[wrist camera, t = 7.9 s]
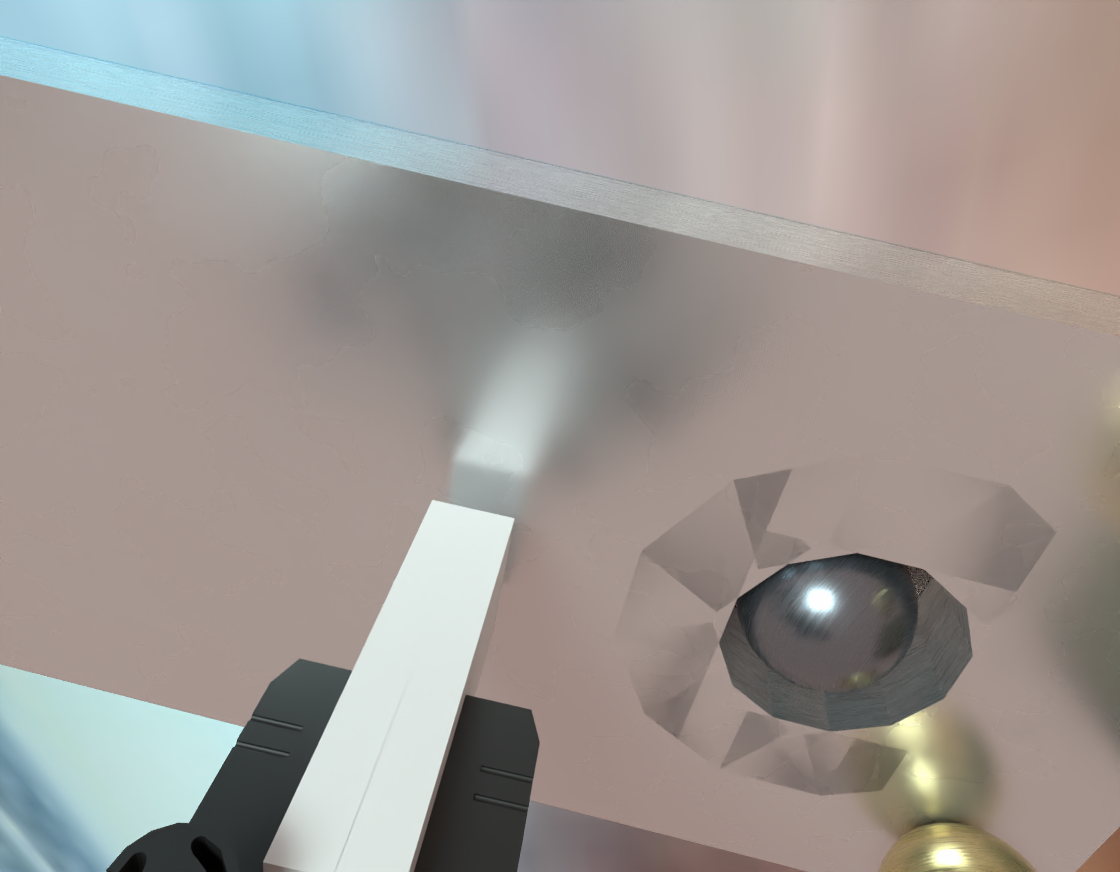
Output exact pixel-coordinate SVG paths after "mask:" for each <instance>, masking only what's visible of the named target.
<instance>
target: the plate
mask: <svg viewBox="0 0 1120 872" xmlns="http://www.w3.org/2000/svg"><path fill="white" fill-rule="evenodd" d="M432 500H435V501H440V502H444V503H449V504H453V505H458V506H462V507H466V508H471V509H475V510H480V511H484V512H489V513H493V514H498V515H502V516H507V517H511V518H515V519H514V525H513V530H512V535H511V541H510V546H509V551H508V557H507V562H506V568H505V573H504V578H503V584H502V589H501V594H500V600H499V605H498V611H497V616H496V621H495V627H494V630H493V634H492V637H491V641H490V645H489V648H488V652H487V655H486V659H485V662H484V666H483V670H482V673H481V677H480V680H479V684H478V687H477V691H476V695H475V697H478V698H483V699H487V700H492V701H496V702H500V703H505V704H509V705H513V706H518V707H522V708H526V709H531V710H532V714H533V718H534V722H535V726H536V729H537V733H538V737H539V741H540V745H539V750H538V756H537V762H536V767H535V773H534V778H533V783H532V790H531V795H530V800H531V801H535V802H539V803H543V804H546V805H550V806H554V807H558V808H562V809H566V810H570V811H574V812H578V813H581V814H585V815H589V816H593V817H597V818H601V819H605V820H609V821H613V822H616V823H620V824H624V825H628V826H632V827H636V828H640V829H644V830H648V831H652V832H655V833H659V834H663V835H667V836H671V837H675V838H679V839H683V840H687V841H690V842H694V843H698V844H702V845H706V846H710V847H714V848H718V849H722V850H725V851H729V852H733V853H737V854H741V855H745V856H749V857H753V858H757V859H760V860H764V861H768V862H772V863H776V864H780V865H784V866H788V867H792V868H796V869H799V870H803V871H807V872H878V871H879V868H880V865H881V862H882V860H883V859H884V857H885V855H886V853H887V852H888V850H889V849H890V848H891V847H892V846H893V845H894V843H895V842H896V841H897V840H898V839H900V838H901V837H902V836H904V835H905V834H907V833H908V832H910V831H911V830H913V829H915V828H918V827H921V826H924V825H928V824H934V823H960V824H965V825H969V826H973V827H976V828H979V829H982V830H984V831H987V832H989V833H991V834H993V835H994V836H996V837H998V838H1000V839H1002V840H1003V841H1005V842H1006V843H1008V844H1009V845H1010V846H1012V847H1013V848H1014V849H1016V850H1017V851H1018V852H1019V853H1020V854H1021V855H1022V856H1023V857H1024V858H1026V859H1027V860H1028V861H1029V862H1030V863H1031V864H1032V866H1033V867H1034V868H1035V869H1036V871H1037V872H1075V871H1076V870H1077V869H1078V868H1079V867H1080V866H1081V865H1082V864H1083V863H1084V862H1085V861H1086V860H1087V859H1088V858H1089V857H1090V856H1091V855H1092V854H1093V853H1094V852H1095V851H1096V850H1097V849H1098V848H1099V847H1100V846H1101V845H1102V844H1103V843H1104V842H1105V841H1106V840H1107V839H1108V838H1109V837H1110V836H1111V835H1112V834H1113V833H1114V832H1115V831H1116V830H1117V829H1118V828H1119V827H1120V297H1116V296H1112V295H1108V294H1103V293H1099V292H1095V291H1091V290H1086V289H1082V288H1078V287H1073V286H1069V285H1065V284H1061V283H1056V282H1052V281H1048V280H1043V279H1039V278H1035V277H1030V276H1026V275H1022V274H1018V273H1013V272H1009V271H1005V270H1000V269H996V268H992V267H987V266H983V265H979V264H975V263H970V262H966V261H962V260H957V259H953V258H949V257H944V256H940V255H936V254H932V253H927V252H923V251H919V250H914V249H910V248H906V247H902V246H897V245H893V244H889V243H884V242H880V241H876V240H871V239H867V238H863V237H859V236H854V235H850V234H846V233H841V232H837V231H833V230H828V229H824V228H820V227H816V226H811V225H807V224H803V223H798V222H794V221H790V220H786V219H781V218H777V217H773V216H768V215H764V214H760V213H755V212H751V211H747V210H743V209H738V208H734V207H730V206H725V205H721V204H717V203H712V202H708V201H704V200H700V199H695V198H691V197H687V196H682V195H678V194H674V193H670V192H665V191H661V190H657V189H652V188H648V187H644V186H639V185H635V184H631V183H627V182H622V181H618V180H614V179H609V178H605V177H601V176H596V175H592V174H588V173H584V172H579V171H575V170H571V169H566V168H562V167H558V166H553V165H549V164H545V163H541V162H536V161H532V160H528V159H523V158H519V157H515V156H511V155H506V154H502V153H498V152H493V151H489V150H485V149H480V148H476V147H472V146H468V145H463V144H459V143H455V142H450V141H446V140H442V139H437V138H433V137H429V136H425V135H420V134H416V133H412V132H407V131H403V130H399V129H395V128H390V127H386V126H382V125H377V124H373V123H369V122H364V121H360V120H356V119H352V118H347V117H343V116H339V115H334V114H330V113H326V112H321V111H317V110H313V109H309V108H304V107H300V106H296V105H291V104H287V103H283V102H279V101H274V100H270V99H266V98H261V97H257V96H253V95H248V94H244V93H240V92H236V91H231V90H227V89H223V88H218V87H214V86H210V85H205V84H201V83H197V82H193V81H188V80H184V79H180V78H175V77H171V76H167V75H162V74H158V73H154V72H150V71H145V70H141V69H137V68H132V67H128V66H124V65H120V64H115V63H111V62H107V61H102V60H98V59H94V58H89V57H85V56H81V55H77V54H72V53H68V52H64V51H59V50H55V49H51V48H46V47H42V46H38V45H34V44H29V43H25V42H21V41H16V40H12V39H8V38H4V37H0V664H2V665H5V666H9V667H13V668H17V669H21V670H25V671H29V672H33V673H37V674H40V675H44V676H48V677H52V678H56V679H60V680H64V681H68V682H72V683H75V684H79V685H83V686H87V687H91V688H95V689H99V690H103V691H107V692H111V693H114V694H118V695H122V696H126V697H130V698H134V699H138V700H142V701H146V702H149V703H153V704H157V705H161V706H165V707H169V708H173V709H177V710H181V711H184V712H188V713H192V714H196V715H200V716H204V717H208V718H212V719H216V720H220V721H223V722H227V723H231V724H235V725H239V726H243V727H245V725H246V724H247V722H248V720H249V721H250V719H251V717H252V713H253V712H254V710H255V708H256V706H257V705H258V703H259V701H260V699H261V698H262V696H263V694H264V692H265V691H266V689H267V687H268V686H269V684H270V682H272V681H273V680H274V679H275V678H276V677H278V676H279V675H280V674H281V673H282V672H284V671H285V670H286V669H287V668H288V667H290V666H291V665H292V664H293V663H295V662H296V661H297V660H298V659H299V658H300V659H304V660H309V661H313V662H317V663H322V664H326V665H330V666H335V667H339V668H343V669H348V670H352V671H353V669H354V666H355V664H356V662H357V660H358V658H359V656H360V654H361V651H362V649H363V647H364V645H365V643H366V641H367V639H368V636H369V634H370V632H371V630H372V628H373V626H374V624H375V622H376V619H377V617H378V615H379V613H380V611H381V609H382V607H383V604H384V602H385V600H386V598H387V596H388V594H389V592H390V589H391V587H392V585H393V583H394V581H395V579H396V577H397V575H398V572H399V570H400V568H401V566H402V564H403V562H404V560H405V557H406V555H407V553H408V551H409V549H410V547H411V545H412V542H413V540H414V538H415V536H416V534H417V532H418V530H419V527H420V525H421V523H422V521H423V519H424V517H425V515H426V513H427V510H428V508H429V506H430V504H431V502H432ZM854 553H859V554H863V555H868V556H872V557H876V558H880V559H884V560H888V561H892V562H896V563H900V564H904V565H908V566H913V567H917V568H921V569H924V570H925V571H927V572H928V573H929V574H930V575H931V576H932V578H931V580H930V581H929V583H928V585H927V586H926V588H925V590H924V591H923V593H922V595H921V597H920V598H919V600H918V622H917V628H916V633H915V636H914V639H913V641H912V644H911V646H910V648H909V650H908V652H907V653H906V655H905V656H904V658H903V659H902V661H901V662H900V663H899V664H898V665H897V666H896V668H895V669H894V670H893V671H892V672H890V673H889V674H888V675H887V676H885V677H884V678H882V679H881V680H879V681H878V682H876V683H874V684H872V685H869V686H867V687H865V688H862V689H858V690H855V691H850V692H842V693H825V692H818V691H813V690H809V689H806V688H802V687H799V686H797V685H795V684H792V683H790V682H788V681H786V680H785V679H783V678H781V677H780V676H778V675H777V674H776V673H774V672H773V671H772V670H771V669H769V668H768V667H767V666H766V665H765V664H764V663H763V662H762V661H761V660H760V659H759V658H758V656H757V655H756V654H755V652H754V651H753V650H752V648H751V646H750V645H749V643H748V641H747V639H746V638H745V635H744V633H743V631H742V628H741V625H740V621H739V617H738V612H737V609H735V608H734V605H735V603H736V601H737V598H738V597H740V596H741V595H743V594H744V593H746V592H747V591H749V590H750V589H752V588H753V587H755V586H756V585H758V584H759V583H761V582H762V581H764V580H765V579H767V578H768V577H770V576H771V575H773V574H774V573H776V572H777V571H778V570H780V569H781V568H783V567H784V566H786V565H787V564H792V563H799V562H805V561H811V560H817V559H823V558H829V557H835V556H841V555H848V554H854Z"/></svg>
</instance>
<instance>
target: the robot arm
mask: <svg viewBox="0 0 1120 872" xmlns="http://www.w3.org/2000/svg"><path fill="white" fill-rule="evenodd" d="M514 519H515V518H511V517H507V516H502V515H498V514H493V513H489V512H484V511H480V510H475V509H471V508H466V507H462V506H458V505H453V504H449V503H444V502H440V501H435V500H432V502H431V504H430V506H429V508H428V510H427V513H426V515H425V517H424V519H423V521H422V523H421V525H420V527H419V530H418V532H417V534H416V536H415V538H414V540H413V542H412V545H411V547H410V549H409V551H408V553H407V555H406V557H405V560H404V562H403V564H402V566H401V568H400V570H399V572H398V575H397V577H396V579H395V581H394V583H393V585H392V587H391V589H390V592H389V594H388V596H387V598H386V600H385V602H384V604H383V607H382V609H381V611H380V613H379V615H378V617H377V619H376V622H375V624H374V626H373V628H372V630H371V632H370V634H369V636H368V639H367V641H366V643H365V645H364V647H363V649H362V651H361V654H360V656H359V658H358V660H357V662H356V664H355V666H354V669H353V671H352V670H348V669H343V668H339V667H335V666H330V665H326V664H322V663H317V662H313V661H309V660H304V659H300V658H299V659H298V660H297V661H296V662H295V663H293V664H292V665H291V666H290V667H288V668H287V669H286V670H285V671H284V672H282V673H281V674H280V675H279V676H278V677H276V678H275V679H274V680H273V681H272V682H270V684H269V686H268V687H267V689H266V691H265V692H264V694H263V696H262V698H261V699H260V701H259V703H258V705H257V706H256V708H255V710H254V712H253V713H252V717H251V719H250V721H249V720H248V722H247V724H246V725H245V727H244V729H243V731H242V732H241V734H240V736H239V738H238V739H237V743H236V745H235V747H233V748H232V750H231V751H230V753H229V755H228V757H227V758H226V760H225V762H224V764H223V765H222V767H221V769H220V770H219V772H218V774H217V776H216V777H215V779H214V781H213V783H212V784H211V786H210V788H209V790H208V791H207V793H206V795H205V796H204V798H203V800H202V802H201V803H200V805H199V807H198V809H197V810H196V812H195V814H194V816H193V817H192V819H191V821H190V822H189V823H176V824H173V825H169V826H166V827H163V828H160V829H156V830H153V831H151V832H149V833H147V834H146V835H144V836H143V837H141V838H140V839H138V840H137V841H135V842H134V843H132V844H131V845H129V846H127V847H126V848H125V849H124V850H123V852H122V853H121V854H120V855H119V856H118V857H117V858H116V860H115V861H114V862H113V863H112V864H111V865H110V867H109V868H108V869H107V870H106V871H107V872H517V868H518V863H519V857H520V851H521V846H522V840H523V835H524V829H525V823H526V818H527V811H528V806H529V801H530V795H531V790H532V783H533V778H534V773H535V767H536V762H537V756H538V750H539V745H540V741H539V737H538V733H537V729H536V726H535V722H534V718H533V714H532V710H531V709H526V708H522V707H518V706H513V705H509V704H505V703H500V702H496V701H492V700H487V699H483V698H478V697H475V695H476V691H477V687H478V684H479V680H480V677H481V673H482V670H483V666H484V662H485V659H486V655H487V652H488V648H489V645H490V641H491V637H492V634H493V630H494V627H495V621H496V616H497V611H498V605H499V600H500V594H501V589H502V584H503V578H504V573H505V568H506V562H507V557H508V551H509V546H510V541H511V535H512V530H513V525H514Z"/></svg>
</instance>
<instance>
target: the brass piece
mask: <svg viewBox="0 0 1120 872" xmlns="http://www.w3.org/2000/svg"><path fill="white" fill-rule="evenodd" d="M878 872H1037V871H1036V869H1035V868H1034V867H1033V866H1032V864H1031V863H1030V862H1029V861H1028V860H1027V859H1026V858H1024V857H1023V856H1022V855H1021V854H1020V853H1019V852H1018V851H1017V850H1016V849H1014V848H1013V847H1012V846H1010V845H1009V844H1008V843H1006V842H1005V841H1003V840H1002V839H1000V838H998V837H996V836H994V835H993V834H991V833H989V832H987V831H984V830H982V829H979V828H976V827H973V826H969V825H965V824H960V823H934V824H928V825H924V826H921V827H918V828H915V829H913V830H911V831H910V832H908V833H907V834H905V835H904V836H902V837H901V838H900V839H898V840H897V841H896V842H895V843H894V845H893V846H892V847H891V848H890V849H889V850H888V852H887V853H886V855H885V857H884V859H883V860H882V862H881V865H880V868H879V871H878Z"/></svg>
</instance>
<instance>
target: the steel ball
mask: <svg viewBox="0 0 1120 872" xmlns="http://www.w3.org/2000/svg"><path fill="white" fill-rule="evenodd" d="M736 604H737V612H738V617H739V621H740V625H741V628H742V631H743V633H744V635H745V638H746V639H747V641H748V643H749V645H750V646H751V648H752V650H753V651H754V652H755V654H756V655H757V656H758V658H759V659H760V660H761V661H762V662H763V663H764V664H765V665H766V666H767V667H768V668H769V669H771V670H772V671H773V672H774V673H776V674H777V675H778V676H780V677H781V678H783V679H785V680H786V681H788V682H790V683H792V684H795V685H797V686H799V687H802V688H806V689H809V690H813V691H818V692H825V693H842V692H850V691H855V690H858V689H862V688H865V687H867V686H869V685H872V684H874V683H876V682H878V681H879V680H881V679H882V678H884V677H885V676H887V675H888V674H889V673H890V672H892V671H893V670H894V669H895V668H896V666H897V665H898V664H899V663H900V662H901V661H902V659H903V658H904V656H905V655H906V653H907V652H908V650H909V648H910V646H911V644H912V641H913V639H914V636H915V633H916V628H917V622H918V600H917V594H916V590H915V586H914V583H913V580H912V578H911V575H910V573H909V571H908V569H907V567H906V566H905V565H904V564H900V563H896V562H892V561H888V560H884V559H880V558H876V557H872V556H868V555H863V554H859V553H854V554H848V555H841V556H835V557H829V558H823V559H817V560H811V561H805V562H799V563H792V564H787V565H786V566H784V567H783V568H781V569H780V570H778V571H777V572H776V573H774V574H773V575H771V576H770V577H768V578H767V579H765V580H764V581H762V582H761V583H759V584H758V585H756V586H755V587H753V588H752V589H750V590H749V591H747V592H746V593H744V594H743V595H741V596H740V597H738V598H737V601H736Z"/></svg>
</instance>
